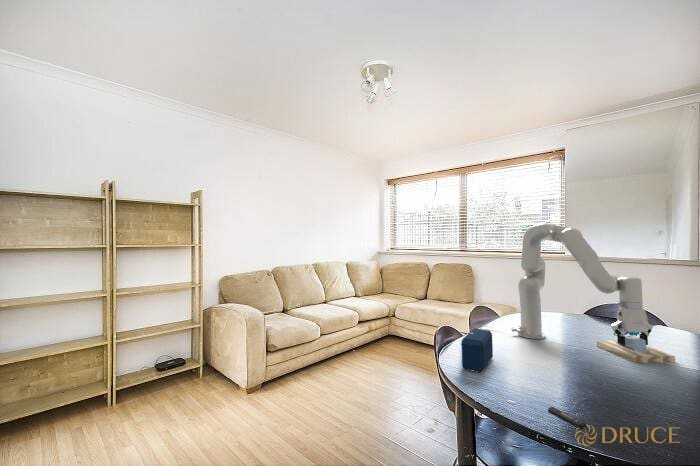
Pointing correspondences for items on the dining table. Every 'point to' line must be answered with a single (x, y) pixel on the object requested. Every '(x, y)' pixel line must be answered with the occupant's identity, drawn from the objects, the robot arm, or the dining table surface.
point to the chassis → (636, 353)
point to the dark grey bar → (567, 417)
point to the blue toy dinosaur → (629, 333)
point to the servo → (635, 344)
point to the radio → (477, 350)
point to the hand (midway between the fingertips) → (632, 344)
